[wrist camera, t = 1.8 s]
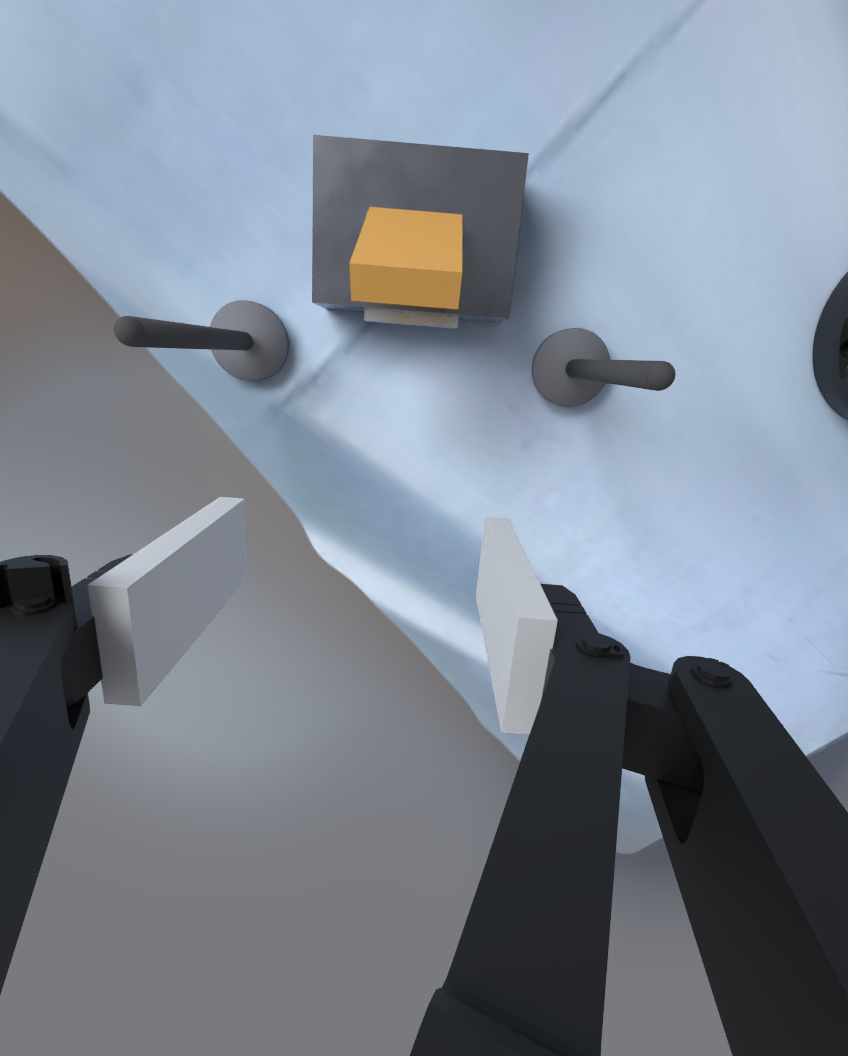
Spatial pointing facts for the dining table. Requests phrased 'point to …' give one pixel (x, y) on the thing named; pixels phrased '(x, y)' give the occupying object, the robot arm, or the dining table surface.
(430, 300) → the orange rectangular prism
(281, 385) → the dining table surface
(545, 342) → the stand
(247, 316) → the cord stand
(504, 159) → the block
